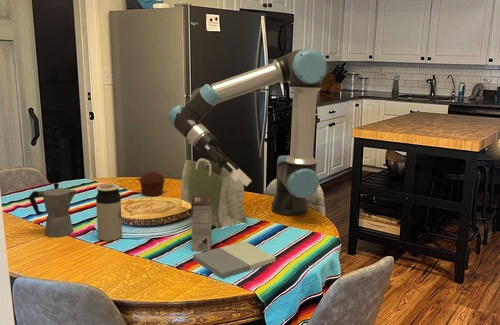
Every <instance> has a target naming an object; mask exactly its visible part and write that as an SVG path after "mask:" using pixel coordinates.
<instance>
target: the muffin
mask: <svg viewBox="0 0 500 325" xmlns="http://www.w3.org/2000/svg"><path fill="white" fill-rule="evenodd" d="M138 181H139V182H140V187H141V188H140V189H141V192H142V196H145V197H146V198H147V197H151V198H152V197H153V198H154V197H155V198H156V197H159V196H162V195H163V190H164V183H165V181H166V179H165V178H164V177H163V175H162V174H161V173H159V172H157V171H148V172H145V173H144V174H143V175H142V176H141V177H140V179H139V180H138Z"/></svg>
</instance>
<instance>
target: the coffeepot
mask: <svg viewBox="0 0 500 325" xmlns="http://www.w3.org/2000/svg"><path fill="white" fill-rule="evenodd" d="M53 186H54V188H49V189H48V188H47V189H45V190H35V191H32V193H31V194H29V196H28V200H29V202H30V205H31V206H32V208H33V210H34V212H35V214H36V215H43V213H44V211H40V209H39V206H38V204H37V200H36V197H37V198H42V199H43V203H44V207H45V211H46V212H47V216H46V223H45V230H44V234H45V235H46V236H47V237H50V238H63V237H64V238H65V237H66V236H70V235H71V234H72V233H73V232H74V227H73V223H72V220H71V215H70V214H69V210H70V208H71V201H72V200H73V198H74V197H75V195H76V194H77V193H78V191H77V190H74V189H69V188H67V187H65V188H63V187H59V186H60V184H59V183H58V182H55V183H53Z"/></svg>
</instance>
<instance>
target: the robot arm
mask: <svg viewBox="0 0 500 325" xmlns="http://www.w3.org/2000/svg"><path fill="white" fill-rule="evenodd" d="M327 69H328V67H327V62H326V59H325V57H324V56H323V55H322V53H320V51H317V50H314V49H311V48H308V49H305V48H304V49H297V50H294V51H292V52H290V53H287V54H285V55H283V56H281V57H278V58H276V59H273V61H272V63H270V64H266V65H263V66H261V67H260V66H259V67H258V68H255V69H252V70H249V71H247V72H243V73H241V74H238V75H234V76H232V77H229V78H226V79H223V80H220V81H218V82H214V83H211V84H209V83H205V84H204V85H203V86H202V87H198V88H195V89H194V90H193V91H192V93H191V94H190V95H191V96H190V100H189V101H188V103H186V104H185V105H181V104H177V105H175V107H172V108H171V110H169V113H168V115H167V119H168V121H169V122H170V124H171V125H172V126H173V128H174V129H175V130H177V131H178V132H179V133H180V134H181V135H182V136H183V138H185V139H186V140H187V141H188V145H192V146H193V147H194V148H195V149H196V150H197V152H199V153H200V155H204V156H205V155H207V154H208V156H209V157H211V159H212V160H214V162H215V163H217V164H218V165H219V166H218V167H219V168H220V169H221V168H222V167H223V169H224V170H225V171H226V172H227V173H228V174H229V175H230V176H231V177H232V178H233V179H234V180H235V181H236V182H237V181H238V180H240V181H241V182H242V183H243V184H244V187H248V186H249V185H250V184H251V183H252V182H253V180H252V179H251V178H250V177H249V176H247V174H246V173H245V172H243V170H241V168H242V167H241V166H240V165H237V164H236V163H234V162H233V161H232V160H231V159H230V158H229V157H228V156H227V155H226V154H225V153H224V152H223V150H222V149H221V148H220V147H218V145H217V144H218V139H217V137H215V136H214V134H213V133H211V131H210V130H209V129H207V127H205V125H203V124H202V123H201V121H202V120H203V118H204V117H205V116H206V115H207V114H208V113H209V112H210V111H211V110H212V109H213V108H214V107H215V106H216V105H217V104H220V103H222V102H225V101H228V100H230V99H234V98H237V97H239V96H243V95H245V94H248V93H250V92H251V93H252V92H254V91H257V90H260V89H263V88H265V87H269V86H271V85H276V84H278V83H279V84H281V85H282V84H285V83H288V82H289V89H290V90H292V92H293V93H292V109H291V110H292V113H291V129H290V130H291V134H290V148H289V149H290V150H289V153H290V154H288V155H287V154H286V155H279V156H278V157H277V159H276V160H277V162H276V187H275V188H276V189H275V194H274V197H273V200H272V202H271V211H272V213H275V214H276V215H281V216H289V217H291V216H292V217H293V216H294V217H296V216H303V215H305V214H307V213H308V212H309V204H308V202H307V201H308V200H307V198H309V197H311V196H312V195H314V194H315V193H316V192H317V190H318V188H319V184H320V180H319V176H318V174H317V164H318V163H317V162H318V161H317V160H316V158H315V157H314V147H315V146H314V144H315V133H316V132H315V130H316V117H317V116H316V114H317V113H316V112H317V100H318V99H317V96H318V92H319V91H321V89H322V85H323V84H322V83H323V79H324V77H325V76H326V73H327Z"/></svg>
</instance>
